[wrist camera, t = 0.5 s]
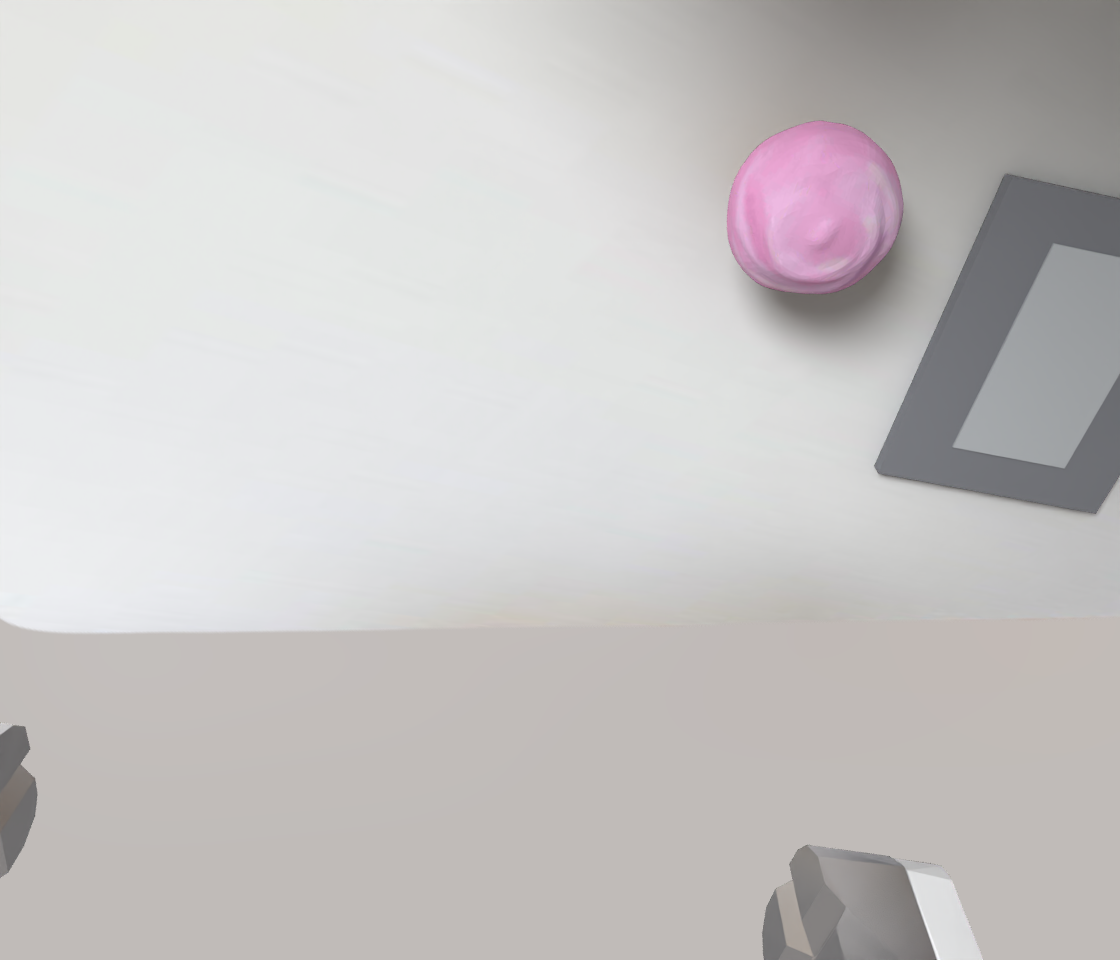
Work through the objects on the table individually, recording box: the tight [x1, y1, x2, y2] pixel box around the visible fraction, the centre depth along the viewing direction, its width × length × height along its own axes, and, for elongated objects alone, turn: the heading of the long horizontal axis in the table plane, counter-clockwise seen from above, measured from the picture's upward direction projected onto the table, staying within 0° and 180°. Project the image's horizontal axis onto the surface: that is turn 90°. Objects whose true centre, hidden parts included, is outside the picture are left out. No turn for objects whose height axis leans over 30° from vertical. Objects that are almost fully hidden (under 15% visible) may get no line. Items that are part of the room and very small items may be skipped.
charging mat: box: [875, 174, 1120, 514], centre depth 56 cm, size 20×16×1 cm
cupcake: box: [727, 121, 903, 294], centre depth 47 cm, size 9×9×10 cm
